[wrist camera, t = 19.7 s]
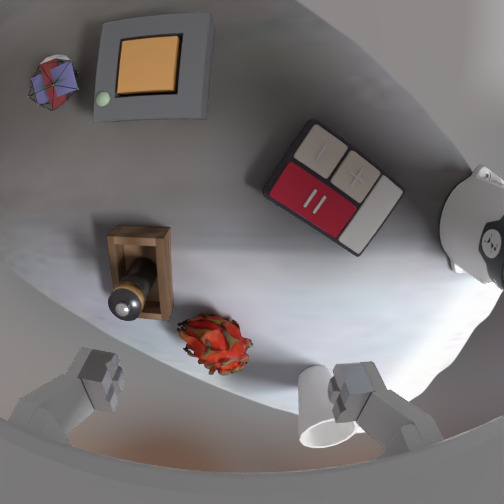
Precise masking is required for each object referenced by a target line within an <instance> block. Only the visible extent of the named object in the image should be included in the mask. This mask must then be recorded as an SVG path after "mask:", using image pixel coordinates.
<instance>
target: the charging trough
mask: <svg viewBox="0 0 504 504" xmlns="http://www.w3.org/2000/svg"><path fill="white" fill-rule="evenodd" d="M107 242H108V251H109V259H110V267H111V274H112V280H113V287H114V288H115V287H116V285H117V284H118V283H119V282H120V280H121V279H122V277H123V276H124V274H125V273H126V271H127V270H128V268H129V267H130V266H131V264H132V263H133V261H134V260H135V259H137V258H140V257H146V258H149V259H151V260H152V261H153V262H154V263H155V264H156V266H157V275H158V276H157V278H156V280H155V283H154V285H153V287H152V289H151V291H150V293H149V295H148V297H147V299H146V302H145V305H144V307H143V309H142V311H141V313H140V314H139V316H138V317H137V318H144V319H155V320H166V321H169V318H170V315H171V312H172V309H173V306H174V301H173V285H172V265H171V237H170V228H165V227H141V226H117V227H116V228H115V229H114V230H113V231H112V232H111V233H110V234H109V235H108V236H107Z"/></svg>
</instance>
